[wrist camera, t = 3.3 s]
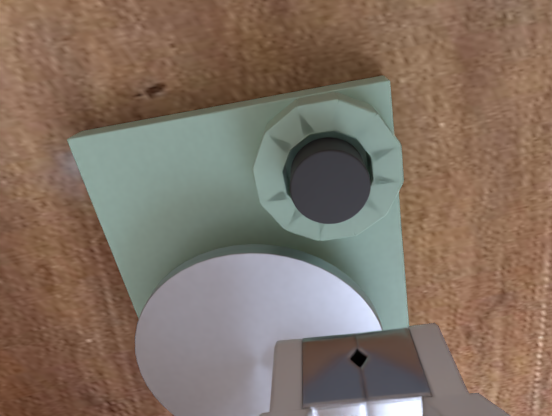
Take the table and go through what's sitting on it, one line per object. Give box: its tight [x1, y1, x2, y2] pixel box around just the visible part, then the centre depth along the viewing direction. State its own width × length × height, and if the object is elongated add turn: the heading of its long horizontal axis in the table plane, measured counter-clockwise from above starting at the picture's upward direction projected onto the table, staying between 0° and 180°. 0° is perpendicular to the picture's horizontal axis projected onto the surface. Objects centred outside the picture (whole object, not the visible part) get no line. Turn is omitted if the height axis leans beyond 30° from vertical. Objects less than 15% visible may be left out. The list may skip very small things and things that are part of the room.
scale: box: [67, 75, 409, 330], centre depth 21 cm, size 18×14×3 cm
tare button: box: [290, 137, 371, 224], centre depth 17 cm, size 3×3×2 cm
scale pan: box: [135, 244, 383, 416], centre depth 21 cm, size 12×12×1 cm
